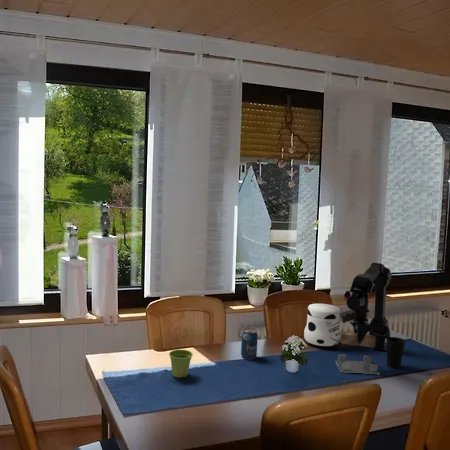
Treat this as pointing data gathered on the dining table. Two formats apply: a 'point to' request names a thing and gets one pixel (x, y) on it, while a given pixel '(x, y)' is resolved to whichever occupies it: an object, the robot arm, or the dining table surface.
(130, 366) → the dining table surface
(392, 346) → the cup
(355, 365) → the brackets
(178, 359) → the plant pot
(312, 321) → the milk container
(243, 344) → the soda can
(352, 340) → the rail
